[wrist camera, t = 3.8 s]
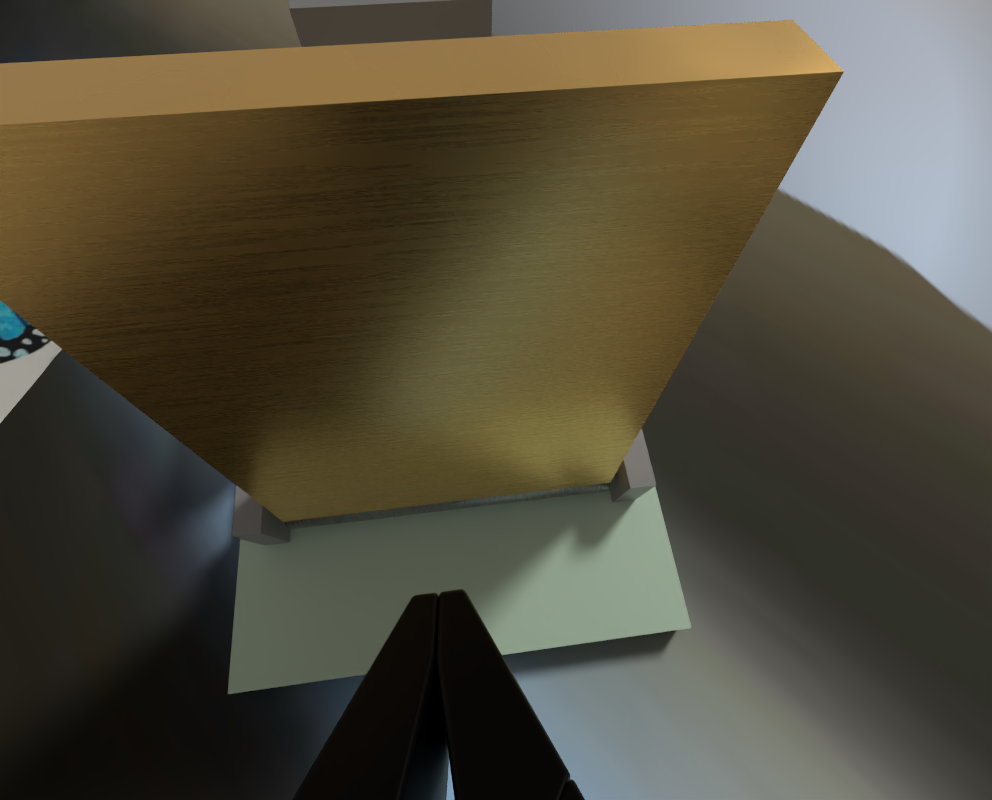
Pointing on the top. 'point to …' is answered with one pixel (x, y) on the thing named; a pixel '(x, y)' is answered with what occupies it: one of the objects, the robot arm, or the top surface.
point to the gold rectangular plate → (398, 246)
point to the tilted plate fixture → (445, 513)
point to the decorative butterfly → (20, 357)
